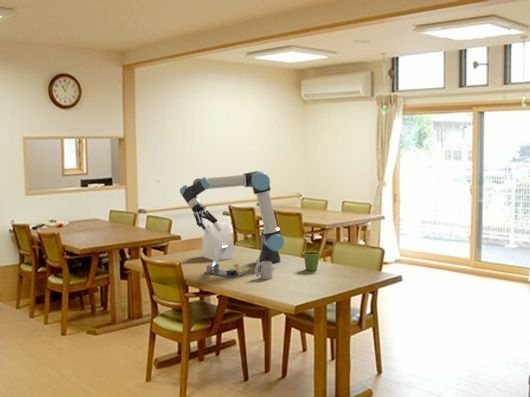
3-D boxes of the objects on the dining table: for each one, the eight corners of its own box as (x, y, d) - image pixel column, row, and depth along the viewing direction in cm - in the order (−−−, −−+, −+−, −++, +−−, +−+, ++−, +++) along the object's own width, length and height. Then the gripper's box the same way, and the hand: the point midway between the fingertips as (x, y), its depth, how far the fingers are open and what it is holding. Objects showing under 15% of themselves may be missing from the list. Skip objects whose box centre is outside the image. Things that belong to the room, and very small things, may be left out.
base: (204, 273, 389) (204, 262, 388) (213, 270, 397) (213, 259, 397) (234, 278, 376) (234, 266, 375) (243, 275, 384) (243, 263, 384)
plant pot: (299, 270, 397) (299, 253, 396) (306, 267, 408) (307, 250, 407) (316, 272, 392) (316, 255, 391) (323, 269, 402) (323, 252, 401)
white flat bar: (210, 268, 389) (208, 267, 390) (215, 267, 393) (213, 265, 394) (223, 247, 382) (221, 246, 383) (228, 246, 386) (226, 244, 387)
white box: (202, 256, 445) (202, 222, 442) (220, 254, 453) (220, 220, 450) (214, 260, 429) (214, 225, 426) (233, 258, 437) (233, 224, 434)
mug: (274, 278, 375) (275, 259, 374) (257, 280, 370) (257, 261, 369) (269, 276, 382) (269, 257, 381) (252, 277, 377) (252, 258, 376)
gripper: (203, 208, 406) (221, 233, 401) (181, 211, 385) (199, 237, 379) (210, 201, 403) (228, 226, 398) (188, 203, 382) (207, 230, 376)
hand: (214, 232), depth 388 cm, fingers open, 13 cm apart
